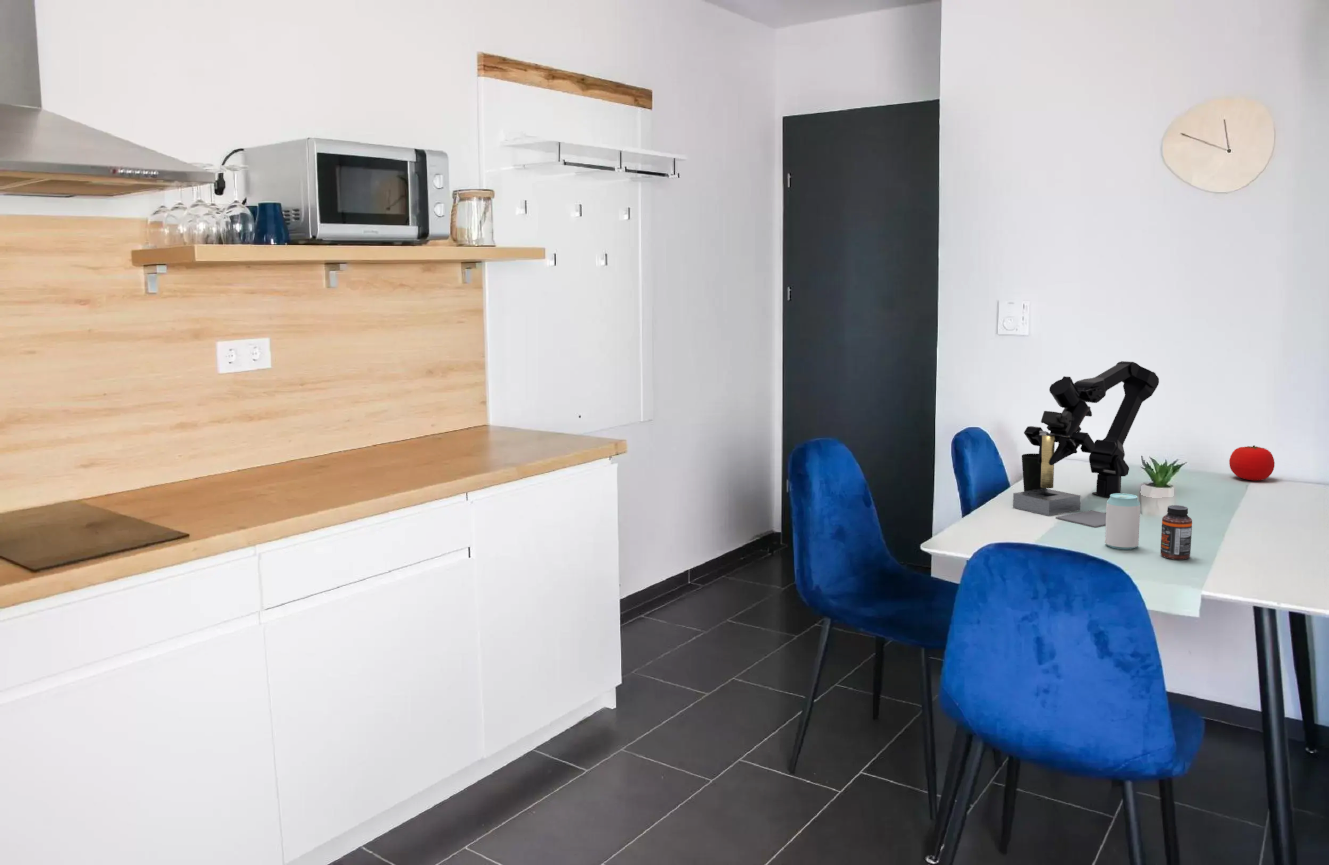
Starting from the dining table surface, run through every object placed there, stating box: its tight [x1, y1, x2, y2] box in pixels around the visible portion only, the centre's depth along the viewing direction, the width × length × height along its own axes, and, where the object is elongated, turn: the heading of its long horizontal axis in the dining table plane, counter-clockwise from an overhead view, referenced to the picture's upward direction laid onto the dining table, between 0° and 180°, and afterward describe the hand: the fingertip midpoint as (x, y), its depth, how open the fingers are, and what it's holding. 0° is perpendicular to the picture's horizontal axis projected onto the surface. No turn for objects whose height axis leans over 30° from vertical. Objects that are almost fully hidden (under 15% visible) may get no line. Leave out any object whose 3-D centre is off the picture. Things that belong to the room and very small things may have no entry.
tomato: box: [1228, 445, 1276, 482], centre depth 301 cm, size 12×12×10 cm
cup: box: [1021, 453, 1042, 492], centre depth 284 cm, size 8×8×12 cm
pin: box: [1041, 435, 1056, 489], centre depth 268 cm, size 3×3×14 cm
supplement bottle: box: [1160, 504, 1193, 561], centre depth 220 cm, size 6×6×11 cm
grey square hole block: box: [1012, 488, 1081, 517], centre depth 269 cm, size 12×12×4 cm
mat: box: [1055, 509, 1106, 529], centre depth 256 cm, size 14×12×1 cm
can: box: [1104, 492, 1141, 550], centre depth 229 cm, size 7×7×12 cm
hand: (1044, 463), depth 267 cm, fingers closed on pin, 3 cm apart
